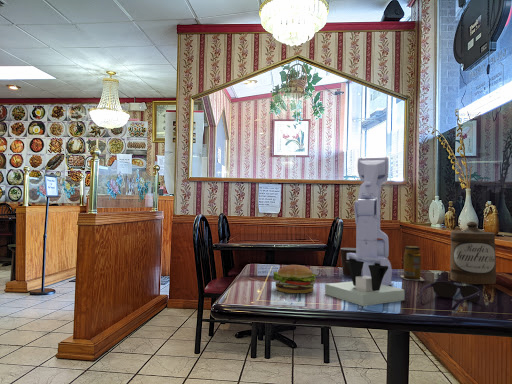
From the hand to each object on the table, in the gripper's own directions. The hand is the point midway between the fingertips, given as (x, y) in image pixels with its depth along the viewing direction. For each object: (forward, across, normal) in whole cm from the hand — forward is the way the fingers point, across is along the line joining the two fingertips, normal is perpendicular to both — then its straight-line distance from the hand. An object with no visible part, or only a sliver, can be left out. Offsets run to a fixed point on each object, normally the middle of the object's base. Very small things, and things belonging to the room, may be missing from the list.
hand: (366, 287), depth 113 cm
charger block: (+3, 0, 0) cm, 4 cm away
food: (+4, -20, -11) cm, 23 cm away
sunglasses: (+4, +12, +19) cm, 23 cm away
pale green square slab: (+3, -3, +2) cm, 5 cm away
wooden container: (+4, -6, +59) cm, 59 cm away
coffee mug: (+4, -35, +25) cm, 43 cm away
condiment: (+4, -19, +42) cm, 46 cm away
